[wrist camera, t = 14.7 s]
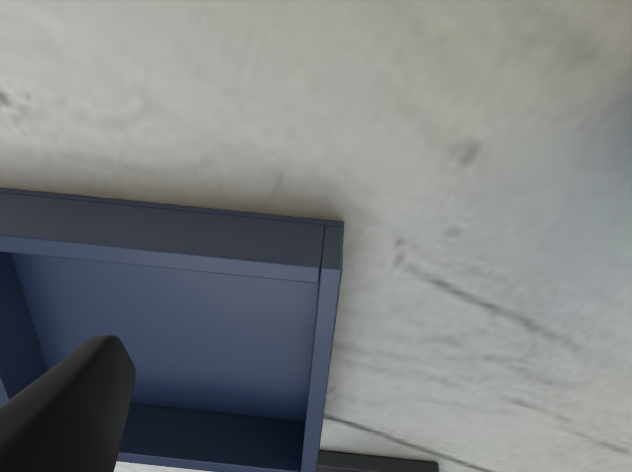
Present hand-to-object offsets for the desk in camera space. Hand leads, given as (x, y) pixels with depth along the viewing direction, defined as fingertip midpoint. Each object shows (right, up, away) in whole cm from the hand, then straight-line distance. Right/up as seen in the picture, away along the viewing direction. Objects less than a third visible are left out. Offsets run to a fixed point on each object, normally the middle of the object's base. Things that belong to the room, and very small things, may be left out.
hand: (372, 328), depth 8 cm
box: (-8, -3, +17) cm, 19 cm away
